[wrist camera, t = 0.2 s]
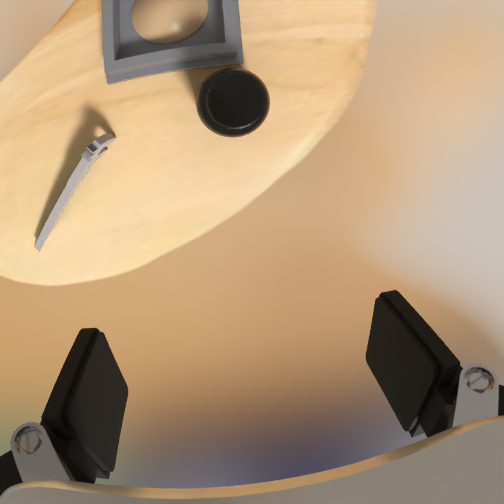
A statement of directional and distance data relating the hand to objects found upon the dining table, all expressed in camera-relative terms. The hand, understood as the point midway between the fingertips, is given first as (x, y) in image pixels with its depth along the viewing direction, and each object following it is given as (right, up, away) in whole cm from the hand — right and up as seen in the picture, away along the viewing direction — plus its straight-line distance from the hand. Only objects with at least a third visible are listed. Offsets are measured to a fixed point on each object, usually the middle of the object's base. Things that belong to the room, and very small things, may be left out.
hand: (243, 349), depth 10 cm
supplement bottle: (-2, +20, +24) cm, 31 cm away
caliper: (-24, +11, +26) cm, 37 cm away
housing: (-9, +31, +18) cm, 37 cm away
